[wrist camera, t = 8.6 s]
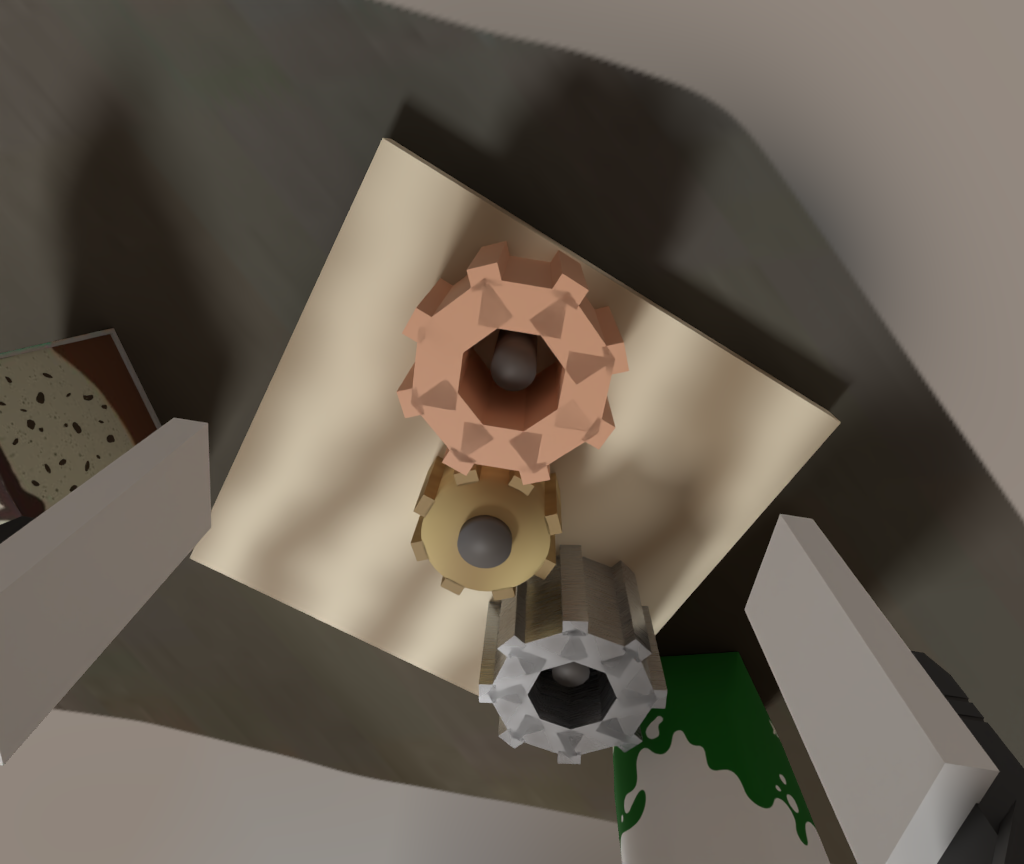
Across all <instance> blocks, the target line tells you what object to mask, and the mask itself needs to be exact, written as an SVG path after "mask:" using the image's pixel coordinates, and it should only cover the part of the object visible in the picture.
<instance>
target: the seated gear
mask: <svg viewBox="0 0 1024 864" xmlns="http://www.w3.org/2000/svg"><path fill="white" fill-rule="evenodd" d="M571 662H576V663H579V664H582V665H585V666H587V667H589V671H590V674H589V677H588V679H587V680H586V681H585V682H584V683H583V684H581V685H579V686H575V687H567V686H563V685H561V684H559V683H558V682H556V681H555V679H554V678H553V675H552V668H553V667H557V666H560V665H564V664H567V663H571ZM666 698H667V686H666V682H665V678H664V673H663V669H662V665H661V660H660V656H659V652H658V647H657V643H656V639H655V634H654V630H653V625H652V621H651V617H650V612H649V608H648V606H642V605H641V600H640V596H639V591H638V586H637V582H636V577H635V573H634V572H633V571H632V570H631V569H630V568H629V567H627V566H626V565H625V564H624V563H623V562H622V561H621V560H620V561H619V562H618V563H617V564H615V565H614V566H613V567H610V566H607V565H604V564H602V563H599V562H596V561H594V560H591V559H589V558H586V557H583V556H582V550H581V545H560V552H559V555H558V556H556V565H555V566H554V568H553V569H552V570H551V572H550V573H549V574H548V576H547V577H546V578H545V580H544V579H542V578H540V577H538V576H536V575H533V576H532V577H531V578H529V579H528V580H526V581H525V582H523V583H521V584H519V585H518V586H516V593H515V597H512V598H507V599H502V600H501V602H489V604H488V612H487V620H486V629H485V637H484V645H483V653H482V661H481V669H480V678H479V702H485V703H493V704H494V706H495V708H496V710H497V711H498V713H499V715H500V720H499V733H498V736H499V737H500V738H501V739H503V740H504V741H505V742H507V743H508V744H509V745H510V746H512V747H513V748H514V749H515V748H516V747H517V746H519V745H520V744H522V743H523V742H525V743H528V744H531V745H534V746H537V747H540V748H543V749H545V750H548V751H551V752H554V753H557V757H558V763H567V764H580V761H581V754H585V753H589V752H593V751H597V750H601V749H604V748H608V747H612V746H617V747H619V748H620V749H621V750H622V751H624V752H627V751H628V750H630V749H631V748H633V747H635V746H636V745H638V744H639V743H641V742H642V735H641V729H640V724H641V723H642V721H643V720H644V718H645V717H646V715H647V714H648V712H649V711H650V709H651V708H662V709H665V706H666Z"/></svg>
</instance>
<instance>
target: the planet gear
mask: <svg viewBox="0 0 1024 864" xmlns="http://www.w3.org/2000/svg"><path fill="white" fill-rule="evenodd" d="M467 274H468V275H466V276H465V277H464V278H462V279H461V280H460V281H458V282H457V283H456V284H454V285H451V284H450V283H448V282H446V281H445V280H443V279H441V278H440V279H439V280H438V282H437V283H436V284H435V285H434V287H433V288H432V289H431V290H430V291H429V293H428V294H427V295H426V296H425V297H424V299H423V300H422V301H421V302H420V304H419V305H418V306H417V307H416V309H415V310H414V312H413V314H412V316H411V318H410V319H409V321H408V323H407V325H406V327H405V328H404V330H403V332H402V334H404V335H405V336H407V337H409V338H410V339H412V340H414V341H415V342H417V348H416V358H415V362H414V364H413V366H412V367H411V369H410V371H409V372H408V374H407V375H406V377H405V379H404V380H403V382H402V384H401V385H400V387H399V388H398V390H397V395H398V398H399V401H400V404H401V407H402V410H403V414H404V417H405V418H409V417H414V416H418V415H421V416H422V417H423V418H424V419H425V421H426V422H427V423H428V424H429V426H430V427H431V428H432V429H433V430H434V432H435V433H436V434H437V435H438V436H439V438H440V439H441V440H442V441H443V442H444V444H445V445H446V446H447V449H446V452H445V455H444V458H443V461H442V463H444V464H446V465H448V466H449V467H451V468H453V469H455V470H456V471H458V472H460V473H462V474H464V475H465V476H467V474H468V473H469V471H470V469H471V468H472V466H473V465H474V464H478V465H485V466H491V467H497V468H503V469H509V470H516V471H519V472H520V476H521V479H522V483H523V485H526V484H531V483H536V482H542V481H547V480H550V463H552V462H554V461H555V460H557V459H558V458H560V457H562V456H563V455H565V454H566V453H568V452H570V451H571V450H573V449H574V448H576V447H578V446H579V445H581V444H582V443H584V442H587V443H588V444H590V445H592V446H593V447H595V448H597V449H598V450H599V449H600V448H601V446H602V445H603V444H604V442H605V441H606V440H607V438H608V437H609V436H610V434H611V433H612V432H613V430H614V429H615V424H614V420H613V416H612V412H611V408H610V405H609V401H608V397H607V394H608V389H609V385H610V381H611V376H612V374H617V373H622V372H626V371H629V368H628V362H627V356H626V351H625V345H624V341H623V339H622V336H621V334H620V332H619V329H618V327H617V325H616V322H615V320H614V318H613V315H612V313H611V310H610V308H609V306H607V307H602V308H598V309H594V308H593V306H592V305H591V303H590V302H589V300H588V299H587V297H586V296H585V295H586V294H587V292H588V291H589V289H588V286H587V283H586V280H585V277H584V274H583V271H582V268H581V265H580V263H579V262H577V261H575V260H574V259H572V258H571V257H569V256H568V255H566V254H565V253H563V252H562V251H560V250H558V251H557V253H556V255H555V256H554V258H553V259H552V261H551V262H545V261H539V260H533V259H527V258H522V257H516V256H510V254H509V250H508V246H507V241H504V242H499V243H495V244H491V245H487V246H483V247H481V249H480V250H479V252H478V253H477V255H476V256H475V258H474V259H473V261H472V262H471V264H470V265H469V267H468V268H467ZM497 328H498V329H504V330H510V331H516V332H522V333H528V334H535V335H541V336H542V338H543V339H544V341H545V342H546V343H547V345H548V346H549V348H550V349H551V350H552V352H553V353H554V354H555V356H556V360H555V363H553V364H552V365H550V366H549V367H547V368H546V369H544V370H543V371H541V372H540V373H538V374H537V375H536V376H535V378H534V380H533V382H532V383H531V384H530V385H529V386H528V387H527V388H525V389H523V390H520V391H508V390H505V389H503V388H501V387H499V386H498V385H497V384H496V383H495V381H494V380H493V378H492V375H491V371H490V370H489V368H488V367H487V366H486V364H485V363H484V362H483V360H482V359H481V358H480V357H479V355H478V354H477V353H476V351H475V350H474V345H475V344H476V343H478V342H479V341H480V340H482V339H483V338H485V337H486V336H487V335H489V334H490V333H492V332H493V331H494V330H496V329H497Z"/></svg>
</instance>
